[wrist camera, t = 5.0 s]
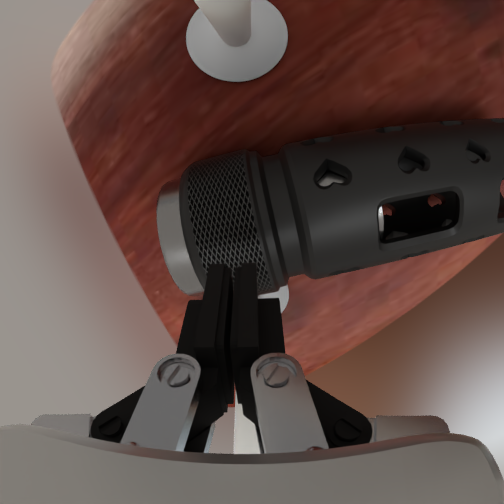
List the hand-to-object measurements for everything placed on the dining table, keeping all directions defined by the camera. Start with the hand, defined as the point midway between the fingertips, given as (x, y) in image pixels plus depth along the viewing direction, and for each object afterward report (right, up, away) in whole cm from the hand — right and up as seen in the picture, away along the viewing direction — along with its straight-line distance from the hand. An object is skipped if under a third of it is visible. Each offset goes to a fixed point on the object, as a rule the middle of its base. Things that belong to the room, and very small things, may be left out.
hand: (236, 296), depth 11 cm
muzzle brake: (+9, +8, +13) cm, 18 cm away
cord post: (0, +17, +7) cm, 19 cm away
